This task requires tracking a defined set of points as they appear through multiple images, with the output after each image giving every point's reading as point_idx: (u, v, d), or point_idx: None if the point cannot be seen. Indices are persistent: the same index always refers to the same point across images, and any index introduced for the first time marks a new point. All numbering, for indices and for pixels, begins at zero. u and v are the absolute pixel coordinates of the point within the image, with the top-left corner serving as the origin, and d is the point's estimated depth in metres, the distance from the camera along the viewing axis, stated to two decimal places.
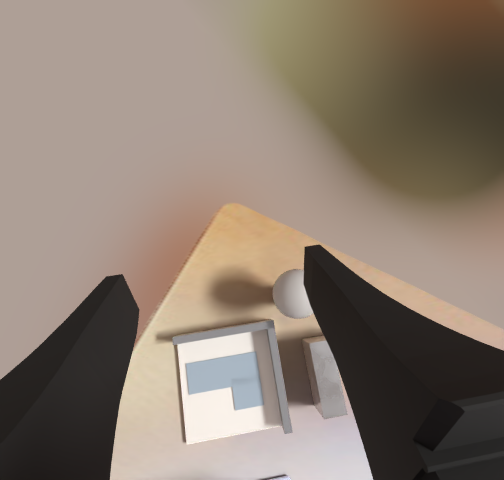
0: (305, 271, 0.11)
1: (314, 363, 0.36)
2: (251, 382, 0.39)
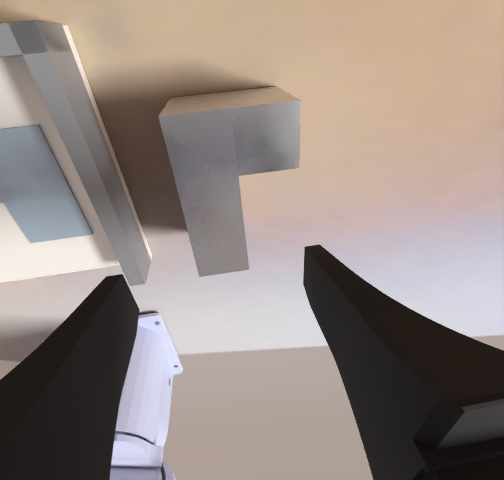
0: (305, 271, 0.11)
1: (176, 173, 0.13)
2: (49, 195, 0.17)
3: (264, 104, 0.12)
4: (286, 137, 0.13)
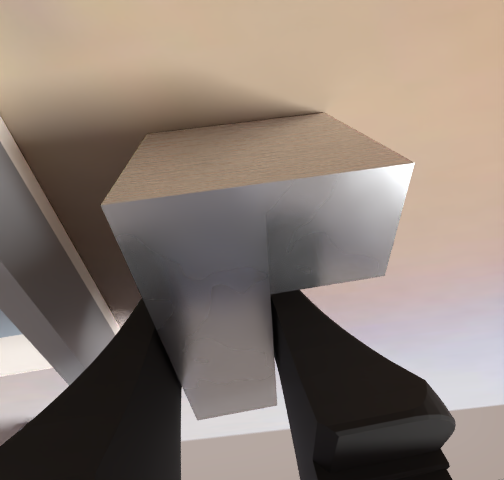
0: None
1: (149, 299, 0.07)
2: None
3: (336, 173, 0.05)
4: (370, 231, 0.06)
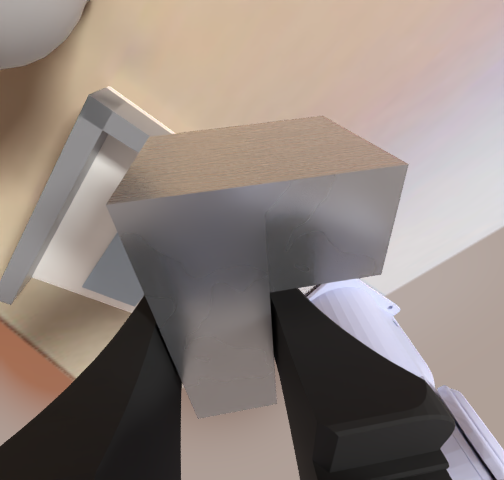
0: None
1: (152, 297, 0.07)
2: None
3: (333, 174, 0.06)
4: (367, 230, 0.06)
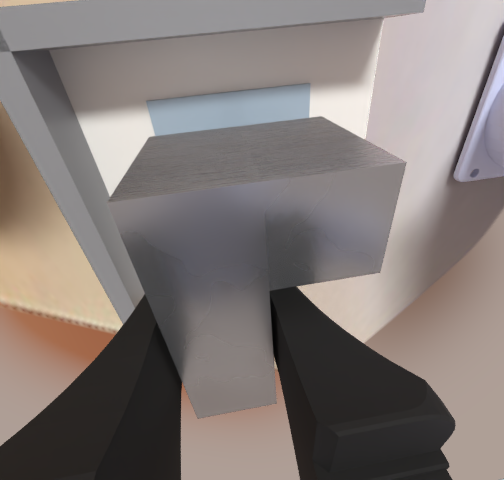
0: None
1: (152, 295, 0.07)
2: (242, 122, 0.13)
3: (332, 172, 0.06)
4: (365, 228, 0.07)
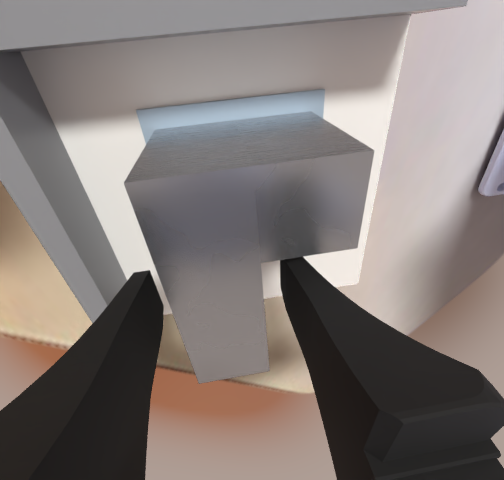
0: (281, 275, 0.11)
1: (160, 265, 0.08)
2: None
3: (311, 158, 0.07)
4: (342, 207, 0.08)
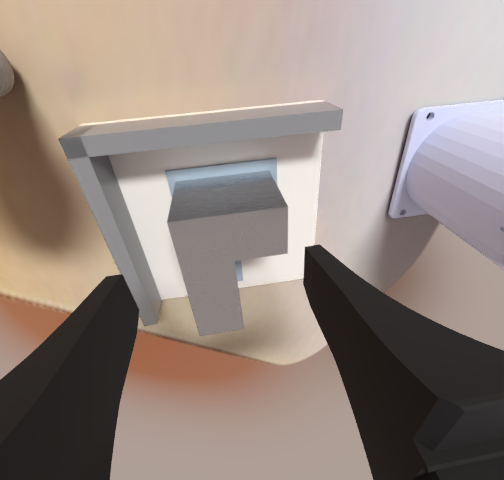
0: (305, 271, 0.11)
1: (181, 261, 0.15)
2: None
3: (257, 210, 0.14)
4: (276, 233, 0.15)
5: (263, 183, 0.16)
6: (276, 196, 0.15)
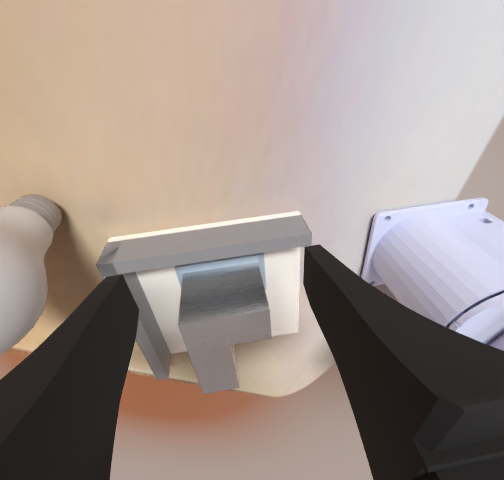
0: (305, 271, 0.11)
1: (188, 348, 0.19)
2: None
3: (246, 313, 0.18)
4: (261, 326, 0.19)
5: (252, 279, 0.21)
6: (261, 297, 0.19)
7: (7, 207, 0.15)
